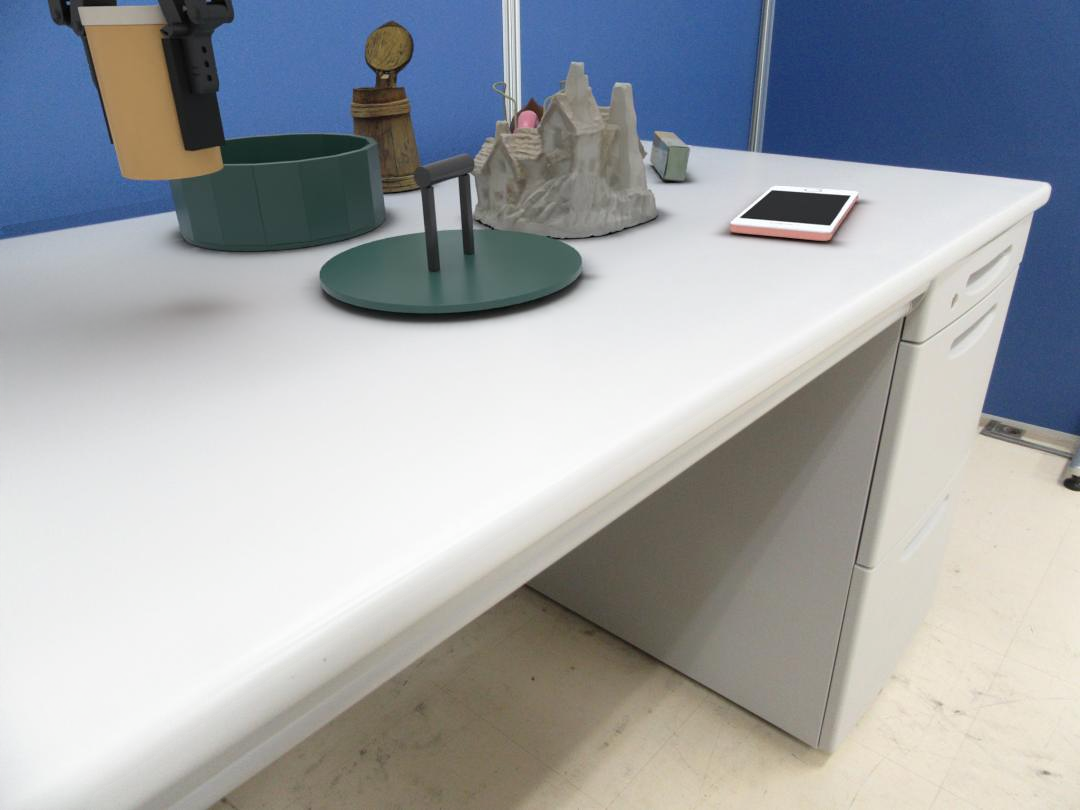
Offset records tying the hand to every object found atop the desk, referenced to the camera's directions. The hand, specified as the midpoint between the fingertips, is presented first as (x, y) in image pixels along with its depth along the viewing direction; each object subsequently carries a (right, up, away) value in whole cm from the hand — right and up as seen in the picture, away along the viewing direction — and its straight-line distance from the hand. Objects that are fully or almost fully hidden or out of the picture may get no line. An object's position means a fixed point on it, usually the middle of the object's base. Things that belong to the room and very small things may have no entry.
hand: (167, 143), depth 53 cm
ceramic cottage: (+28, +1, +26) cm, 38 cm away
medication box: (+41, +11, +46) cm, 63 cm away
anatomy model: (+24, +13, +49) cm, 56 cm away
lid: (+18, -7, +10) cm, 21 cm away
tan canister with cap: (0, -2, +1) cm, 2 cm away
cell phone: (+50, +1, +24) cm, 56 cm away
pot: (-1, +1, +27) cm, 27 cm away
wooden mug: (+7, +10, +45) cm, 47 cm away
